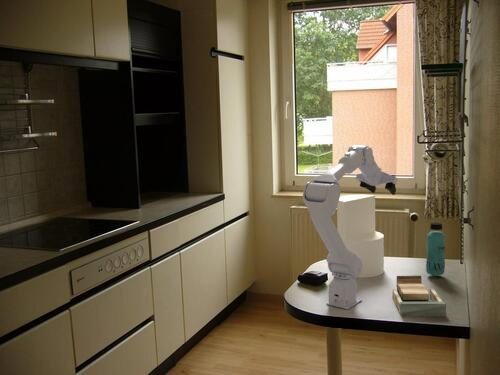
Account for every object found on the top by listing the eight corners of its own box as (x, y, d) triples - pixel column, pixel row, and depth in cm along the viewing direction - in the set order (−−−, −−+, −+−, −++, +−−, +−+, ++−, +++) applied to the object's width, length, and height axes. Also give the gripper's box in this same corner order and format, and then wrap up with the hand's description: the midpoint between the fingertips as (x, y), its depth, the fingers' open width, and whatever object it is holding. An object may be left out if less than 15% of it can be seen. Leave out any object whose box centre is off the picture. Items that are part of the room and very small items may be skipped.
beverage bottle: (422, 277, 194) (423, 223, 191) (431, 272, 199) (432, 220, 196) (439, 280, 190) (440, 225, 187) (448, 276, 194) (449, 222, 191)
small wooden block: (396, 290, 182) (396, 275, 181) (420, 290, 181) (420, 275, 181) (403, 303, 170) (403, 287, 170) (428, 303, 170) (429, 287, 169)
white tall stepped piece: (328, 270, 207) (327, 199, 202) (358, 260, 217) (357, 193, 213) (363, 280, 193) (362, 204, 189) (393, 270, 204) (393, 198, 199)
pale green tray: (445, 316, 159) (446, 303, 158) (401, 316, 160) (401, 303, 160) (433, 297, 174) (433, 285, 174) (392, 297, 176) (392, 286, 175)
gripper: (393, 161, 177) (406, 183, 186) (355, 159, 186) (369, 180, 195) (387, 178, 174) (401, 200, 183) (348, 176, 184) (363, 197, 193)
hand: (384, 191), depth 189 cm, fingers open, 7 cm apart
